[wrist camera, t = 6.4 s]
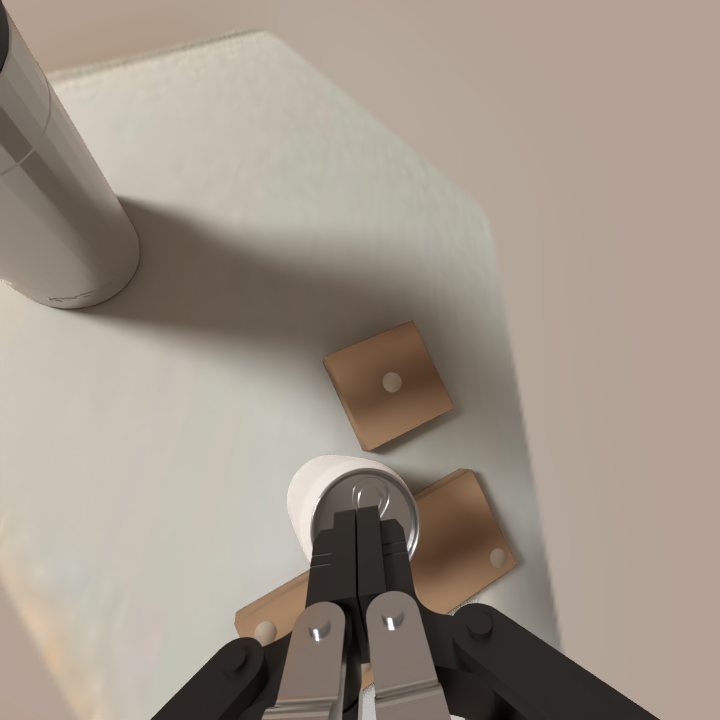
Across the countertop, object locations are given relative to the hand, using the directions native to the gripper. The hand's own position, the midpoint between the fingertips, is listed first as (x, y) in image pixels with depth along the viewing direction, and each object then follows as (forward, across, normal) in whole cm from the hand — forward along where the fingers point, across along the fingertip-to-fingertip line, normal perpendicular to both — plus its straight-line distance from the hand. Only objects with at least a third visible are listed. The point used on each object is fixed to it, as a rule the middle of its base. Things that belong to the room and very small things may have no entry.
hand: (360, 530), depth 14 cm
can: (+16, +4, +9) cm, 19 cm away
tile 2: (+16, -5, +14) cm, 22 cm away
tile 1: (+21, -2, +3) cm, 21 cm away
